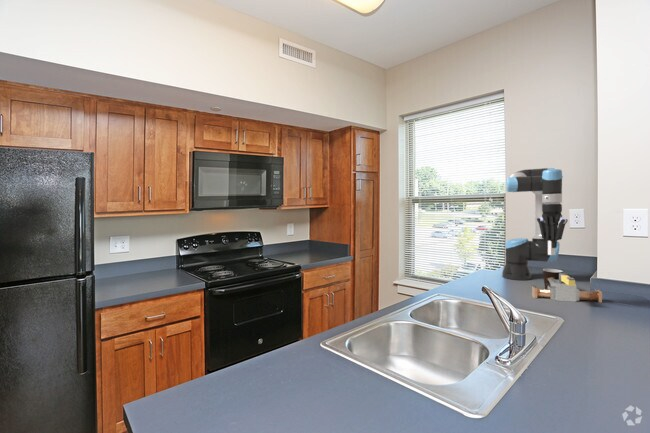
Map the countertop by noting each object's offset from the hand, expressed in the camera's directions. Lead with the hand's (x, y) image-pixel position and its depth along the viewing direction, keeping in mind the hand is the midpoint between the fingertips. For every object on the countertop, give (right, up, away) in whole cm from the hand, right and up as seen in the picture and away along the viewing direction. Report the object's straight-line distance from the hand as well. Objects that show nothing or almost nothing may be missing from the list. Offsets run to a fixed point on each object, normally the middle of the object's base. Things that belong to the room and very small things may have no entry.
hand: (551, 254), depth 153 cm
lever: (+6, -13, -1) cm, 15 cm away
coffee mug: (+14, -21, +18) cm, 31 cm away
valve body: (+8, -21, +4) cm, 23 cm away
